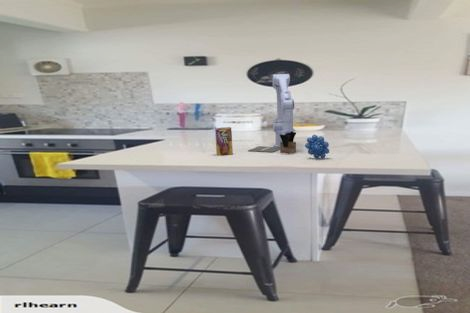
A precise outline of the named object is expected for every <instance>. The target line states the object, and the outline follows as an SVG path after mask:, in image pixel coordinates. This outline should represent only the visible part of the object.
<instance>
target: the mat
mask: <svg viewBox="0 0 470 313" xmlns="http://www.w3.org/2000/svg"><path fill="white" fill-rule="evenodd" d="M278 151H280V147H274V146H265V145H264V146H261V145H260V146H256V147H254V148H250V149H248V150H247V152H254V153H271V154H272V153H275V152H278Z"/></svg>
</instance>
